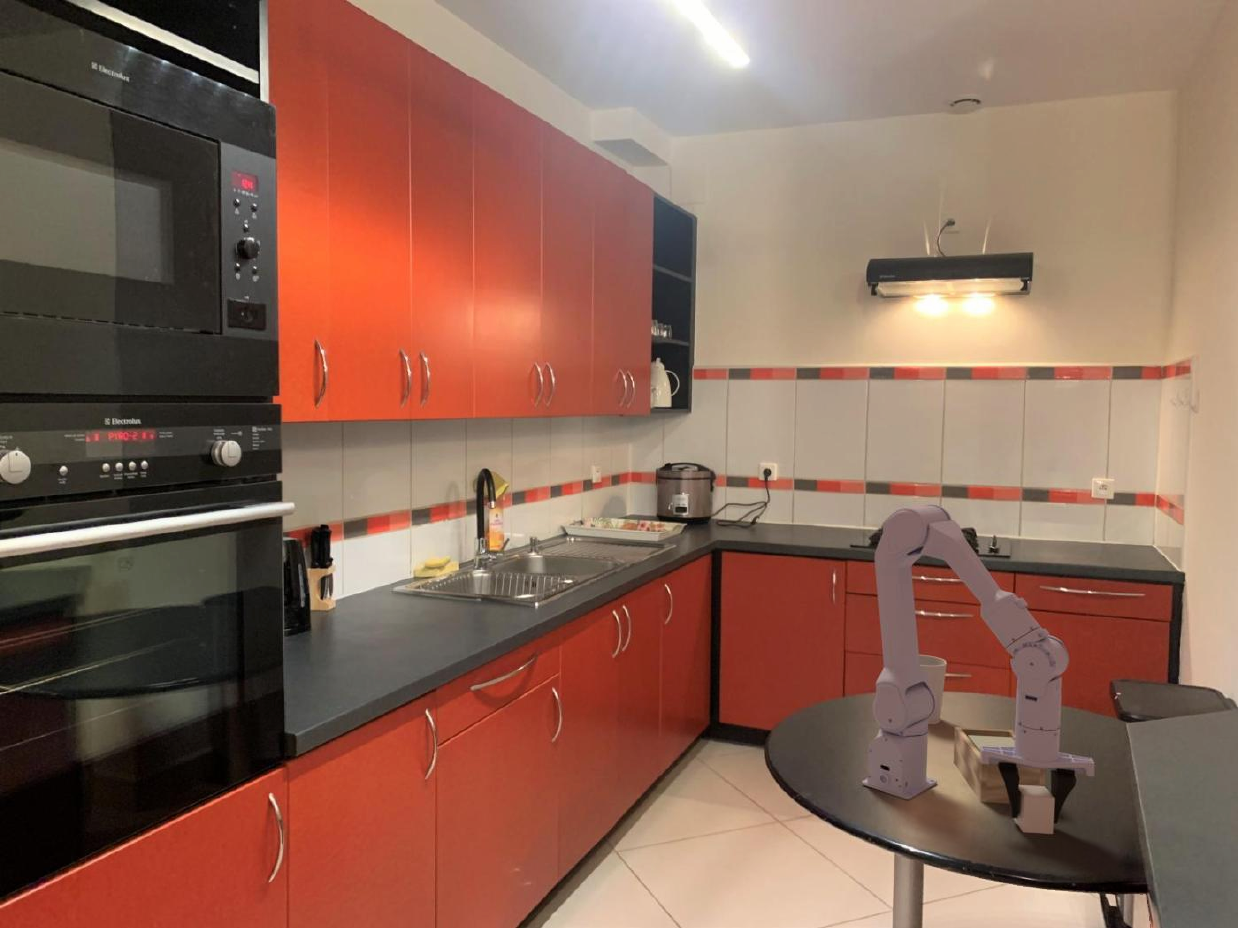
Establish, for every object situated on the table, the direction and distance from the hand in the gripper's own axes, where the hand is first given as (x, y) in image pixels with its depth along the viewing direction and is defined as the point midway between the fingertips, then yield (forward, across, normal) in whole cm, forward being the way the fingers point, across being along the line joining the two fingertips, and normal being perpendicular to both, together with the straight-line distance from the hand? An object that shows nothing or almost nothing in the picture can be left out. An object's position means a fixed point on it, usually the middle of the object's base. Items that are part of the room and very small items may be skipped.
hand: (1033, 817), depth 127 cm
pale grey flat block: (-4, +3, -13) cm, 14 cm away
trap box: (+2, +3, -15) cm, 15 cm away
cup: (+2, +13, -42) cm, 44 cm away
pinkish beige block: (+2, 0, 0) cm, 2 cm away
